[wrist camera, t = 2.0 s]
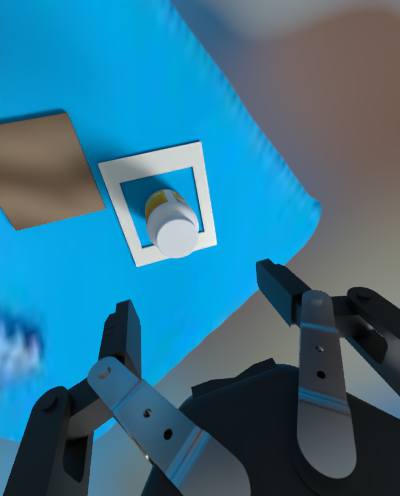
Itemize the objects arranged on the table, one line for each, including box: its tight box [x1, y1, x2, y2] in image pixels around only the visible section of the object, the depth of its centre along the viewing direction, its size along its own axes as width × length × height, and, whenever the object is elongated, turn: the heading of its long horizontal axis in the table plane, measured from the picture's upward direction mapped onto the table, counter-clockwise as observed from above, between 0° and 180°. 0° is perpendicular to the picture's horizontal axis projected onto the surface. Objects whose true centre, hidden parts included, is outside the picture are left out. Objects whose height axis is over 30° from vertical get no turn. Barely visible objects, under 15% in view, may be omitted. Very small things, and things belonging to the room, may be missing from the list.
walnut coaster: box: [0, 113, 106, 231], centre depth 24 cm, size 10×10×1 cm
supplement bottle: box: [145, 189, 199, 258], centre depth 25 cm, size 5×5×10 cm
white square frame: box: [98, 141, 217, 267], centre depth 29 cm, size 14×12×1 cm
